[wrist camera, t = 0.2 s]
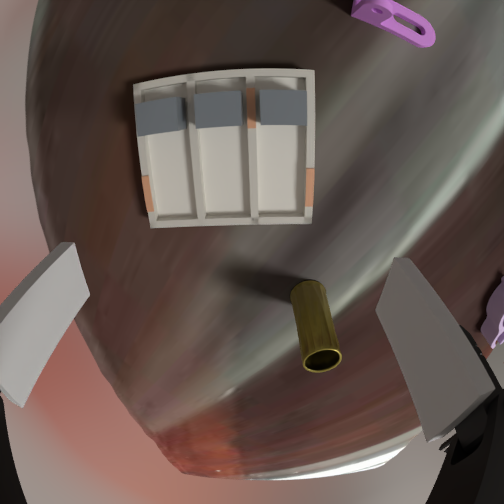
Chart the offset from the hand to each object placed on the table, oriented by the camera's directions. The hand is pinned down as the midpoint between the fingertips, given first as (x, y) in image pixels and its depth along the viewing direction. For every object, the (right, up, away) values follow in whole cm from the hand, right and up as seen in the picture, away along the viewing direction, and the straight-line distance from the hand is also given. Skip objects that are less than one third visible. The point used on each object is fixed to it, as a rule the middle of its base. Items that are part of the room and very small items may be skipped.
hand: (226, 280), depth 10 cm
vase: (+10, -6, +35) cm, 37 cm away
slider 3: (+4, +18, +19) cm, 27 cm away
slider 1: (-10, +18, +19) cm, 28 cm away
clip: (+67, -13, +38) cm, 78 cm away
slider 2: (-3, +18, +19) cm, 26 cm away
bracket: (+21, +34, +12) cm, 41 cm away
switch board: (-2, +15, +23) cm, 27 cm away
